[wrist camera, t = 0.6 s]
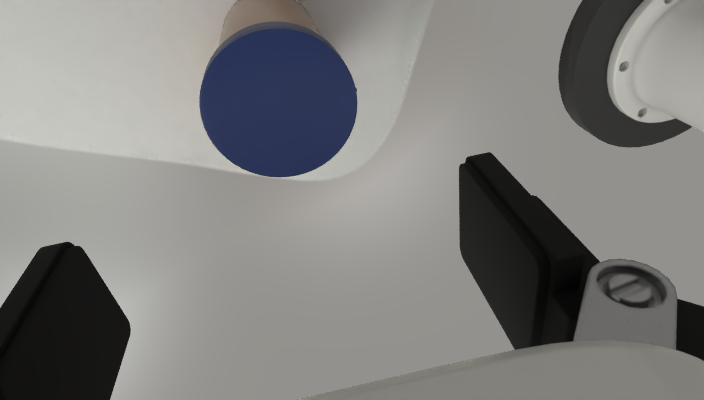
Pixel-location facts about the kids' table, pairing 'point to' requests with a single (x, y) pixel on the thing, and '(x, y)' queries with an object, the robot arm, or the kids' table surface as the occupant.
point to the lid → (277, 99)
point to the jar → (264, 15)
